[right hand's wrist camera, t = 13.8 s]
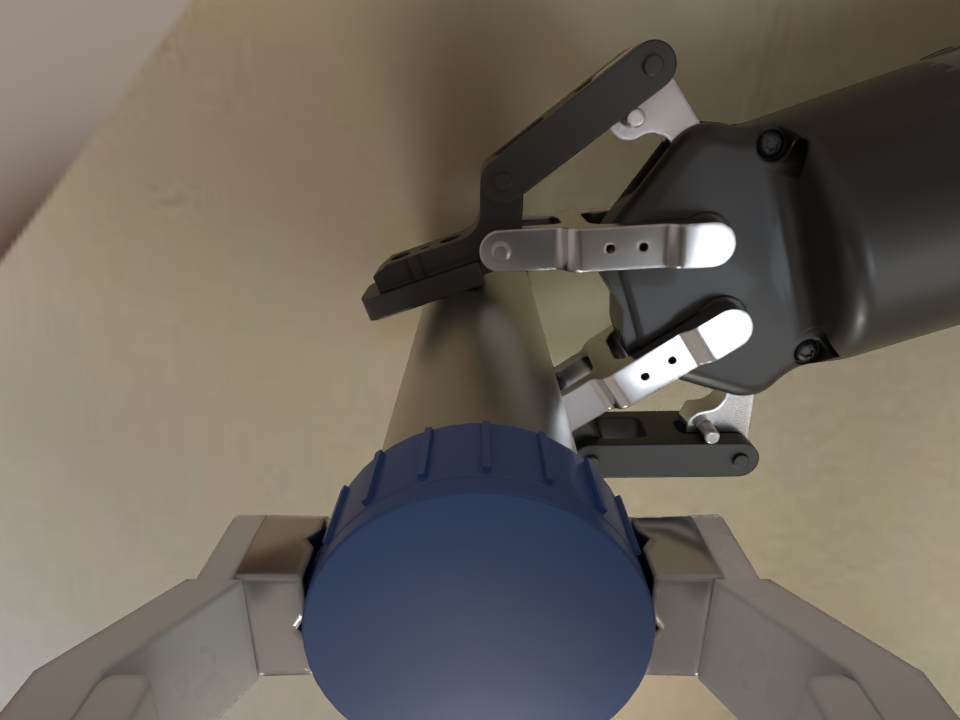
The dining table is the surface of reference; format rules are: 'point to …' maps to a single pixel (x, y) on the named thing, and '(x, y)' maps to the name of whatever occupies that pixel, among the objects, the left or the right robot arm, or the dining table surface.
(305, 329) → the dining table surface
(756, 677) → the right robot arm
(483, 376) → the silver metal cylinder
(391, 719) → the lid
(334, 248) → the dining table surface
